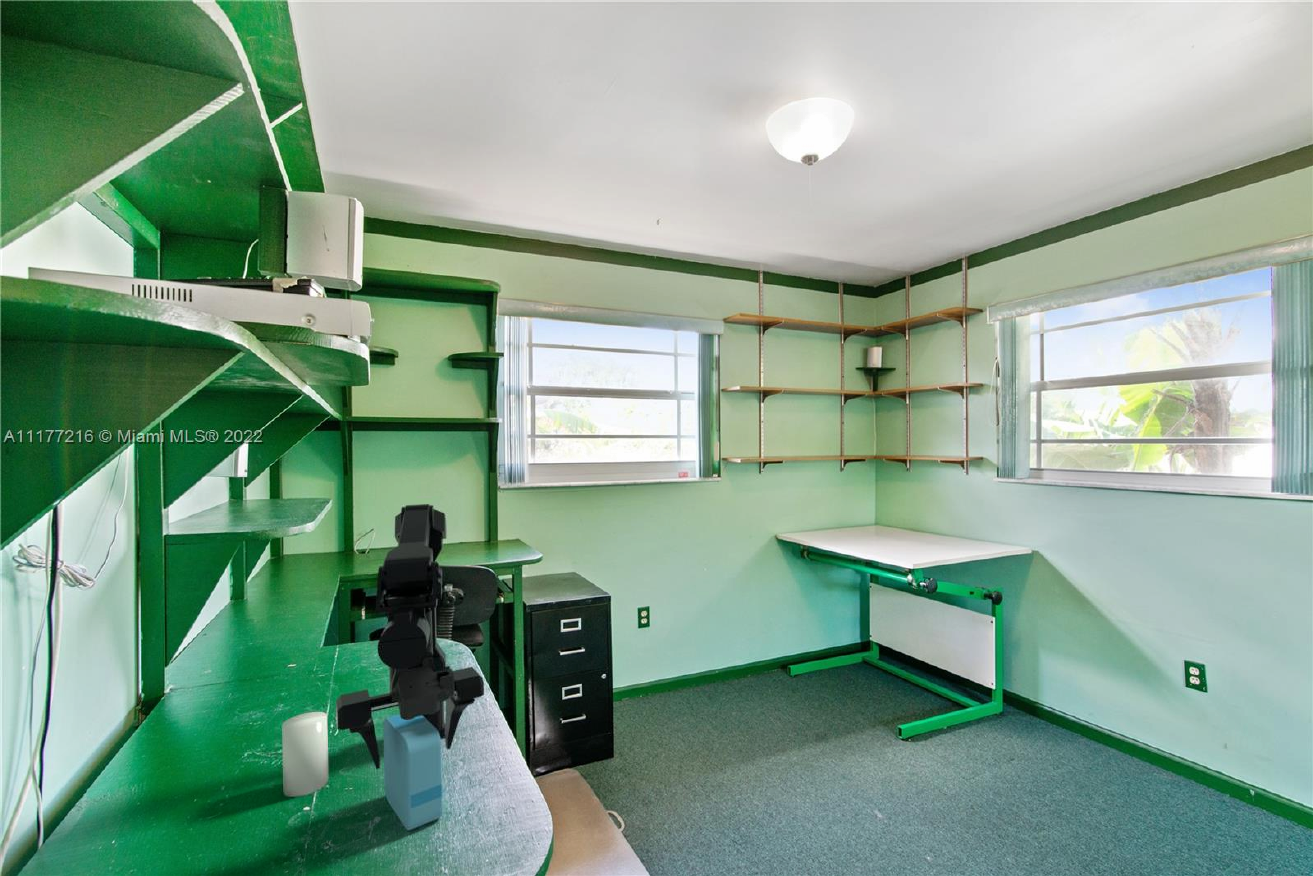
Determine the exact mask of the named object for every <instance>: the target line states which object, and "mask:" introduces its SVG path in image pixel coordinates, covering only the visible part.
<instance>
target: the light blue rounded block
mask: <svg viewBox="0 0 1313 876" xmlns="http://www.w3.org/2000/svg"><path fill="white" fill-rule="evenodd" d="M382 725H383V726H382V727H383V763H384V764H383V767H384V768H383V770H384V772H383V773H384V792H385V797H386V801H387V802H388V804H389V806H390V807H391V809H392V810H393V812H394V813H395V814H396V816H397V817H398V819H399V820H400V822H401V824H402V825H403V827H404V829H405V830H406V831H411V830H414V829H416V828H419V827H422V826H423V825H426V824H429V823H430V822H433V821H436V820H438V819H440V818H442V816H443V812H444V804H443V803H444V801H443V799H444V798H443V767H442V761H443V760H442V738H440V735H439V732H438V730H437V729H436V728H435V727H434V726H433V725H432V724H431V723H430V722H429V721H428V720H427V719H426V718H425V717H423V716H418V717H415V718H413V719H411V720H404V719H402V718H401V717H400V713H399V714H394V715H392V716H387V717H385V719H384V720H383V724H382Z"/></svg>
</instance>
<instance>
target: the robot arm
mask: <svg viewBox="0 0 1313 876" xmlns="http://www.w3.org/2000/svg"><path fill="white" fill-rule="evenodd" d="M394 538H395V541H396V543H397V547H395V548H393V549H391V550H389V551H388V552H386V555H385V557H384V560H383V565H381V566H380V565H379V567H378V569H377V571H378V572H377V583H376V597H375V610H374V611H375V612H374V613H375V615H378V614H387V623H386V625H385V628H384V629H383V632H382V633H381V635H380V637H379V640H378V642H377V655H378V657H379V659H380V660H381V662H382V663H383V664H384V665H385V666H387V667H388V670H389V671H388V675H389V679H388V680H389V681H388V682H389V692H387V693H382V694H378V695H372V696H370V693H369V690H368V689H363V690H357V691H354V692H348V693H344V694H340V695H339V696H338V697H337V699H336V700H335V719H336V724H337V725H336V726H337V730H338V731H341V730H342V731H345V730H348V732H349V733H350V734H356V733H358V734H359V735H360V736H361V738H362V739H363V741H364V742H365V744H366V746H367V749H368V751H369V754H370V756H371V758H372V762H373V764H374V766H375V769H376V770H379V769H380V768H381V763H380V760H381V759H380V758H381V757H380V753H379V747H378V740H377V736H376V728H375V723H374V719H373V715H372V713H373V712H378V711H382V710H386V709H390V708H391V709H392V708H395V707H398V709H399V714H400V717H401V718H402V719H404V720H411V719H413V718H415V717H418V716H423V717H425V718H426V719H427V720H428V721H429V722H430V723H431V724H432V725H433V726H434V727H435V728H436V729H437V730H438V732H439V735H440V739H442V738H444V739H445V741H444V742H445V749H446V750H450V749H451V747H452V744H453V741H454V738H455V735H456V732H457V731H456V730H457V728H458V726H459V721H460V719H461V717H462V716H463V713H464V711H465V710H466V708H467V707H468V706H470V705H473V704H474V703H475V701H476V699H477V698H481V697H483V696H484V695H485V681H484V678H483V676H482V675H480V673H479V672H478V671H477V670H476V669H475V668H474V667H472V666H469V667H465V668H460V669H455V670H453V669H452V668H451V666H450V665H447V655H446V653H445V652H444V650H443V649H442V648H441V646H440V644H439V643H438V642H437V641H438V640H437V639H438V638H437V606H438V600H443V599H442V597H443V596H442V595H443V592H442V591H443V569H442V568H441V567H440V565H439V562H438V561H437V559H438V557H439V555H440V554H441V551H442V550H443V547H444V540H446V539H447V519H446V513H444V512H442V511H439V510H437V509H435V508H434V504H429V503H423V504H407V505H405V506H402V507H401V510H400V513H398V514H397V515H395V516H394ZM384 597H385V600H384Z"/></svg>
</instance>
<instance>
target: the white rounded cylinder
mask: <svg viewBox="0 0 1313 876" xmlns="http://www.w3.org/2000/svg"><path fill="white" fill-rule="evenodd" d="M281 728H282V729H281V732H282V733H281V735H282V737H281V738H282V739H281V740H282V781H283V782H282V784H283V786H282V787H283V792H284V793H283V795H284V794H285V795H284V796H285V797H288V798H289V797H292V798H297V797H303V796H306V795H309V794H314V793H315V792H318V791H319V790H321V789H322V787H323V788H324V787H325V786H326V785H327V784H328V783H329V780H330V779H329V747H328V746H329V743H328V739H329V738H328V734H329V733H328V714H327V713H326V712H324V711H311V712H305V713H301V714H298V715H296V716H292V717H290V718H288V719H287V720H285V721H284V722H283V723H282V725H281ZM328 779H329V780H328ZM327 782H328V783H327ZM326 783H327V784H326ZM325 784H326V785H325ZM317 790H318V791H317Z"/></svg>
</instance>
